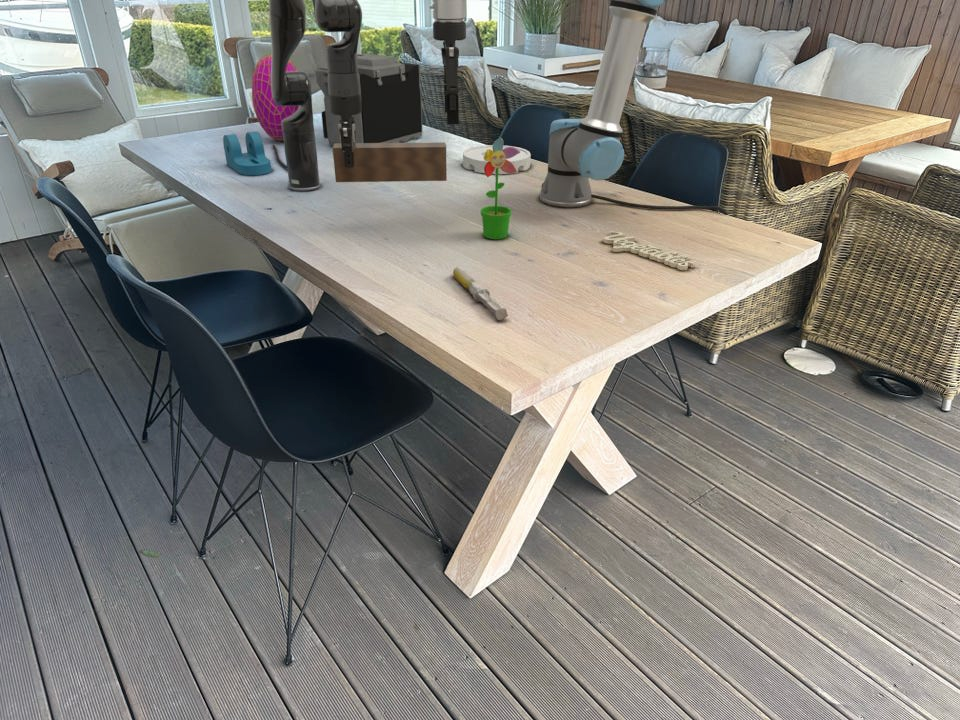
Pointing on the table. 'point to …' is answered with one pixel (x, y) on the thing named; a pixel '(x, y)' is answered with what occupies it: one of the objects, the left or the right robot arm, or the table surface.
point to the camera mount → (246, 154)
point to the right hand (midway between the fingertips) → (451, 118)
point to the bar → (392, 162)
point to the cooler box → (380, 101)
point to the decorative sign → (647, 251)
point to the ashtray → (476, 162)
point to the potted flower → (497, 215)
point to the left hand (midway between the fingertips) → (350, 163)
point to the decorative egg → (269, 99)
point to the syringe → (479, 293)
